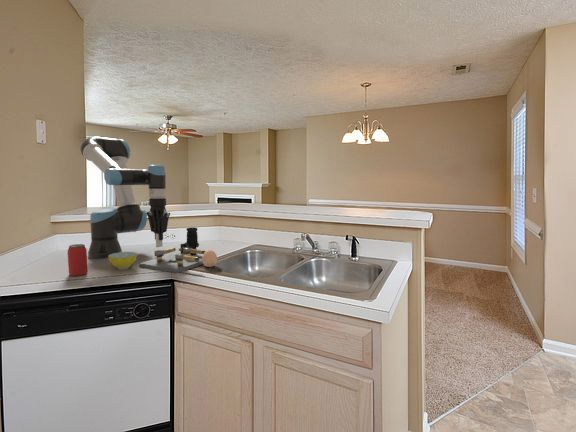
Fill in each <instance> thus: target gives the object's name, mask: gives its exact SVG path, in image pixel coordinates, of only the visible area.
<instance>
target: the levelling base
mask: <svg viewBox="0 0 576 432" xmlns="http://www.w3.org/2000/svg"><path fill="white" fill-rule="evenodd" d="M175 255H176V254H168V255H164V256H162V262H157V258H154V259H151V260H150V259H149V260H147V261H144V262H139V264H138V265H139V266H138V267H139V268H145V269H151V270H156V271H162V272H163V271H164V272H169V273H170V272H171V273H174V274H175V273H176V274H178V273H181V272H182V273H183V272H185V271H187V270H190V269H193V268H195V267H198V266H201V265H204V264H203V262H202V257H201V258H200V257H198V258H199V261H189V260H183V266H177V260H175ZM192 267H193V268H192Z"/></svg>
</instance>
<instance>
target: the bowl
mask: <svg viewBox="0 0 576 432" xmlns="http://www.w3.org/2000/svg"><path fill="white" fill-rule="evenodd" d="M137 256H138V253H137V252H135V251H122V252H119V253H114V254H110V255H109V256H108V258H107V259H108V260H109V263H110V264H111V265H112V266H114V267H116V268H117V269H118V270H121V271H122V270H128V269H129V268H130V266H132V265H133V264H134V263H135V262H136V260H137V258H138V257H137Z"/></svg>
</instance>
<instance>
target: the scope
mask: <svg viewBox="0 0 576 432" xmlns="http://www.w3.org/2000/svg"><path fill="white" fill-rule="evenodd" d="M186 231H187V232H186V242H184V243H180V247H179V248H178V251H179V252H180V254H185V253H183V248H187V247H190V248H192V249H197V248H199V246H200V244H199V239H198V238H199V237H198V227H187V228H186ZM190 256H197V254H196V253H190Z"/></svg>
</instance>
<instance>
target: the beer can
mask: <svg viewBox="0 0 576 432" xmlns="http://www.w3.org/2000/svg"><path fill="white" fill-rule="evenodd" d="M85 245H86V244H83V243H79V244H70V245H69V246H68V249H67V267H68V274H69V276H70V277H80V276H84V275H86V274H88V272H89V271H88V251H87V248H86V246H85Z"/></svg>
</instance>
